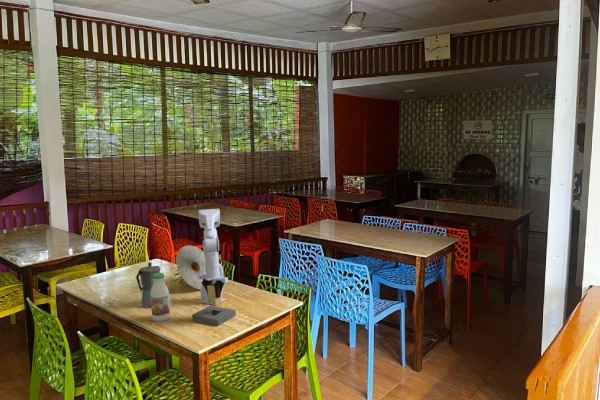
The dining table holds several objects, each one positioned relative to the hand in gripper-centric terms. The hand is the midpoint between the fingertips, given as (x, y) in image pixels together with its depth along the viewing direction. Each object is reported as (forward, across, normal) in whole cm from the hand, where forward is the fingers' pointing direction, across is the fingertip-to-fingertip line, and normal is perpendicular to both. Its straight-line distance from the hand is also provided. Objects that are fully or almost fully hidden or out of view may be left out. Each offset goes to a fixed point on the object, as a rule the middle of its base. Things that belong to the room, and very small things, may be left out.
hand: (214, 296), depth 201 cm
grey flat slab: (+9, 0, 0) cm, 9 cm away
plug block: (+3, 0, 0) cm, 3 cm away
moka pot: (+10, -38, 0) cm, 39 cm away
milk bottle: (+10, -21, -10) cm, 26 cm away
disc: (+10, -39, +30) cm, 50 cm away
